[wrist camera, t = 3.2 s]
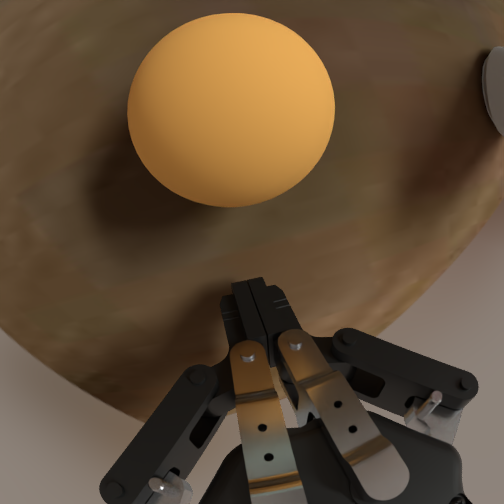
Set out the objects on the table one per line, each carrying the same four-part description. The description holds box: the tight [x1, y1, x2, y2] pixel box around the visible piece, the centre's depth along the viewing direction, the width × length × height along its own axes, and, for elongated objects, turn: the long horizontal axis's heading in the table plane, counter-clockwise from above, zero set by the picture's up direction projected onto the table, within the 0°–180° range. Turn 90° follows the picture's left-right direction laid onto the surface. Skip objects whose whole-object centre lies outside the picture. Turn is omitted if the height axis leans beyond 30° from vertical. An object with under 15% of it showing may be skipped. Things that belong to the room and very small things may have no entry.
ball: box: [127, 13, 335, 207], centre depth 7 cm, size 6×6×6 cm
